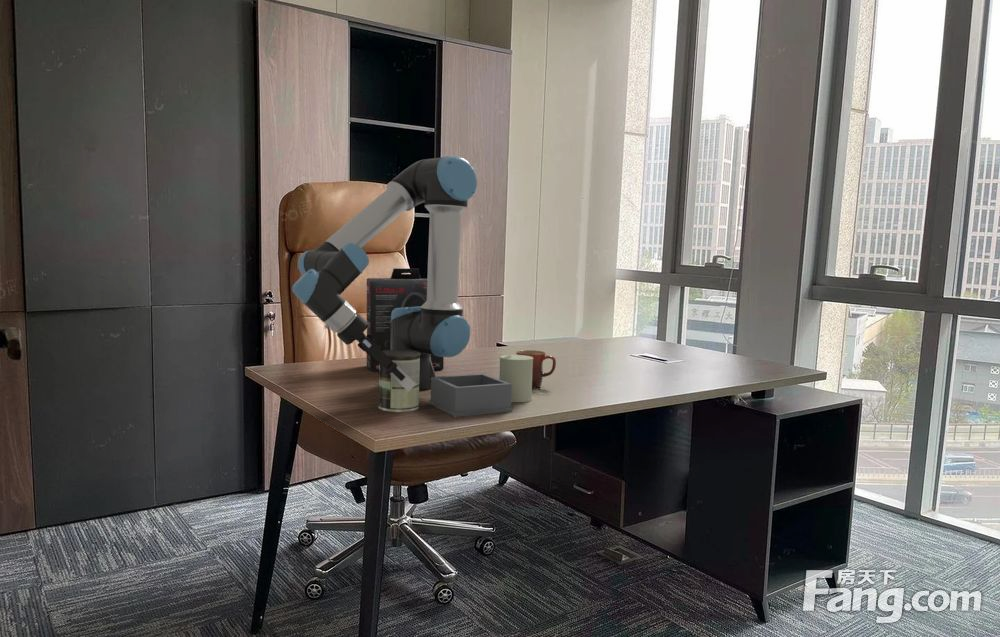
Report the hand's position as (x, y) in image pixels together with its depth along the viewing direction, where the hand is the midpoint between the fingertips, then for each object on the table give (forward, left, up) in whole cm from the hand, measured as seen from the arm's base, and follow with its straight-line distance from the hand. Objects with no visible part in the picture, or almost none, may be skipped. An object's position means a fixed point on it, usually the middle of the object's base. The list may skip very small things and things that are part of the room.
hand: (406, 382), depth 184 cm
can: (+1, +31, -7) cm, 32 cm away
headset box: (-55, +20, -7) cm, 59 cm away
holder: (+6, +15, -6) cm, 17 cm away
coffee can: (0, -2, -7) cm, 7 cm away
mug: (-12, +45, -7) cm, 47 cm away
